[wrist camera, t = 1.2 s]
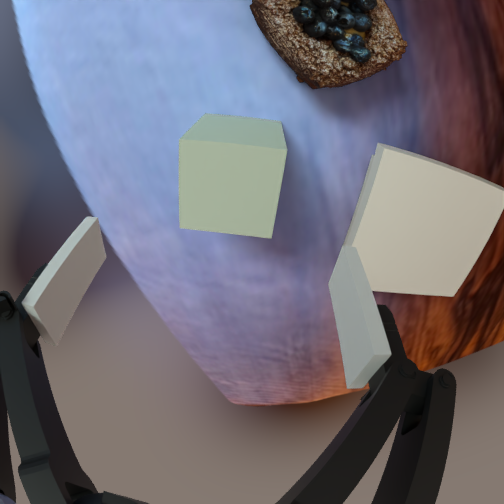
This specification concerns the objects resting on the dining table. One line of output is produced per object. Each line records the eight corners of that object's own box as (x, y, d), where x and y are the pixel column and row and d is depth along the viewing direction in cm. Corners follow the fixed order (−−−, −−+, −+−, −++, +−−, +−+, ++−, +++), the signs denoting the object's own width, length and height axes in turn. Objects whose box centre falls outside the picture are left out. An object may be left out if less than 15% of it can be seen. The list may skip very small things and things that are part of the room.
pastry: (309, 101, 24) (320, 112, 19) (233, 1, 18) (225, -14, 13) (404, 55, 19) (435, 58, 15) (336, -46, 14) (352, -67, 9)
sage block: (205, 113, 25) (179, 139, 17) (280, 121, 25) (287, 150, 18) (201, 179, 29) (179, 228, 22) (270, 187, 29) (271, 238, 22)
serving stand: (367, 133, 25) (384, 148, 21) (489, 176, 25) (509, 193, 22) (329, 261, 35) (335, 287, 31) (441, 274, 35) (453, 296, 32)
